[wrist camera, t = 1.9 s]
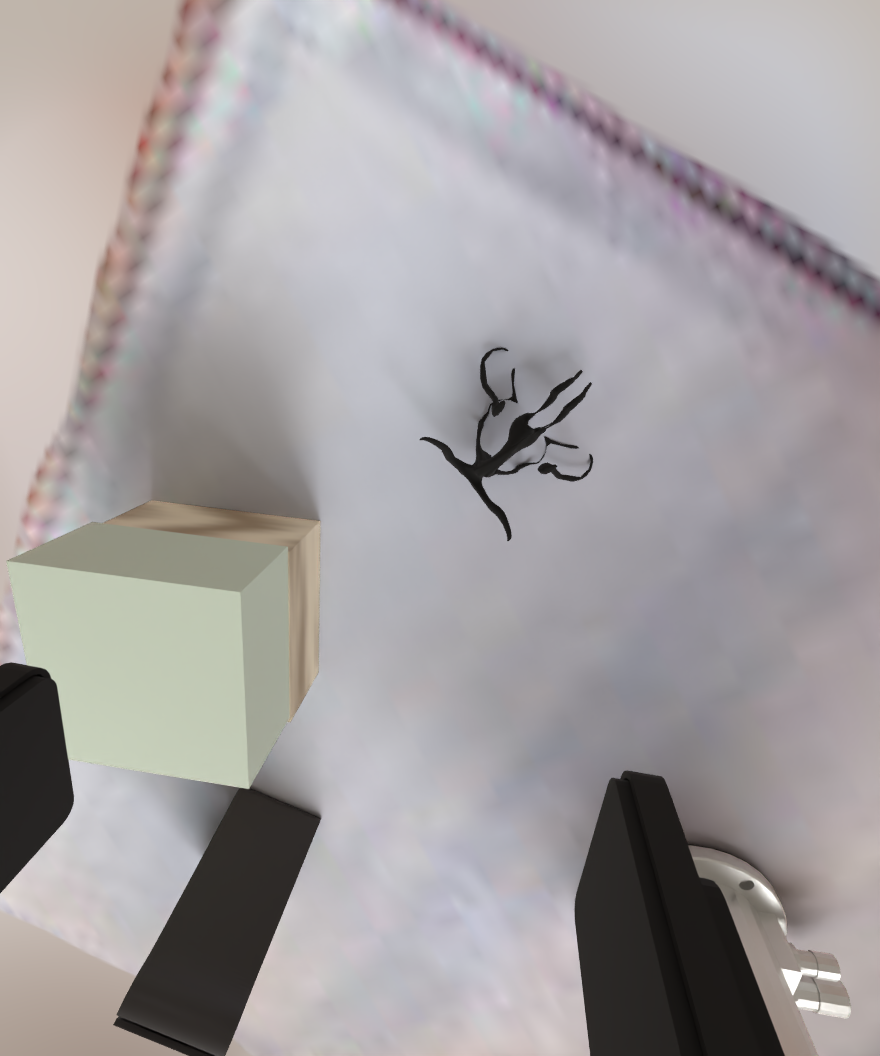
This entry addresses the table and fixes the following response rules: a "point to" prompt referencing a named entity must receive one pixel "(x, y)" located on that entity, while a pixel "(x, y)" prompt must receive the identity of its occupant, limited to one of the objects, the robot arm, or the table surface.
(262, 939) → the phone stand
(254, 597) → the tower top
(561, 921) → the table surface
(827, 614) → the table surface
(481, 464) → the creature
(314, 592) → the tower base
